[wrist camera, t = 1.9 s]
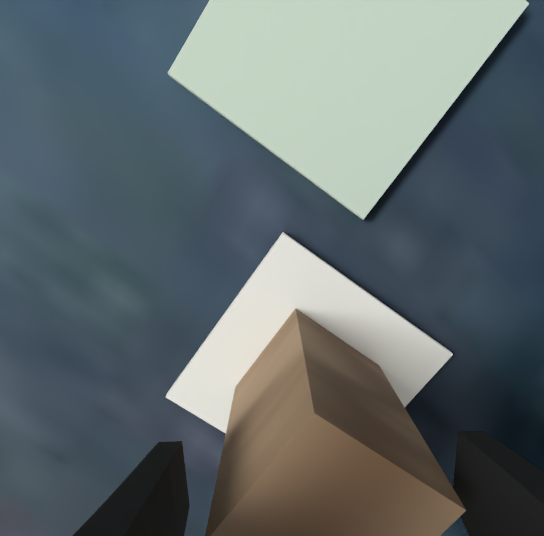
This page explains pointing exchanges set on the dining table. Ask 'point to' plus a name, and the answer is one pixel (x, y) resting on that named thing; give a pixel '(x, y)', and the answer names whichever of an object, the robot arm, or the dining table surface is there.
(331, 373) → the walnut block
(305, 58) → the sage mat
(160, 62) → the dining table surface
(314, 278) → the white tile
